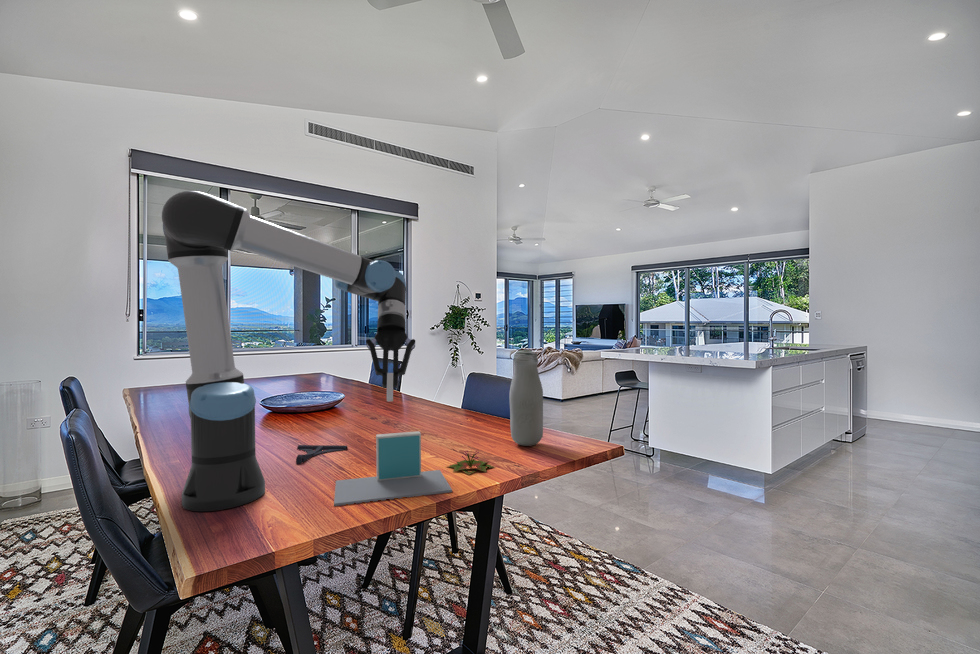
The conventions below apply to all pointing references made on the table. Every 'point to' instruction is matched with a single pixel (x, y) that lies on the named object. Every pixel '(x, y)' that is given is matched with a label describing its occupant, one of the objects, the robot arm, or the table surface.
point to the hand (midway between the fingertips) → (389, 398)
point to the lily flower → (470, 464)
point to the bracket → (316, 451)
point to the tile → (398, 455)
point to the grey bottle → (526, 400)
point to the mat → (389, 488)
